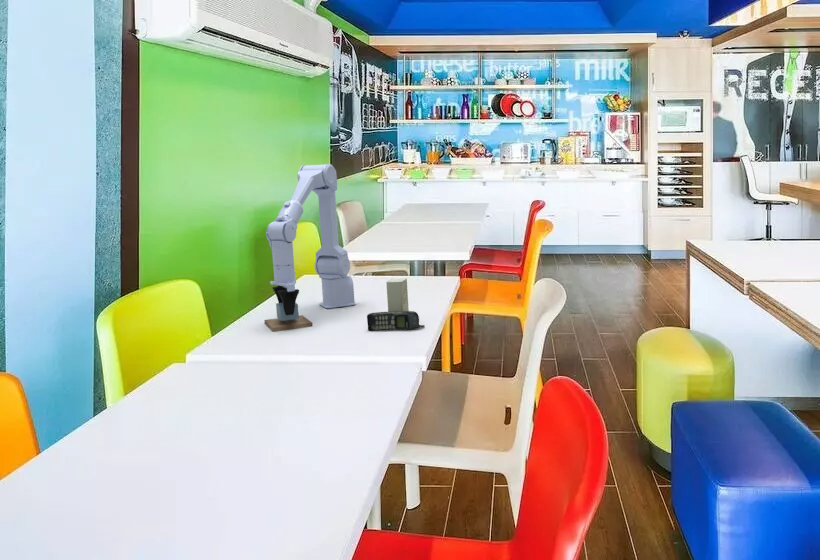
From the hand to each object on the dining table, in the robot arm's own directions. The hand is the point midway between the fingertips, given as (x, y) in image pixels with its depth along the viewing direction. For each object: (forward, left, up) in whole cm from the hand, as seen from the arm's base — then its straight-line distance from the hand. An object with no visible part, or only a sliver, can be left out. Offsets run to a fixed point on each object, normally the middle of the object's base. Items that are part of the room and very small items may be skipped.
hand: (287, 312), depth 206 cm
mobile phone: (-24, +22, -4) cm, 33 cm away
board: (0, 0, -3) cm, 3 cm away
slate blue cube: (0, 0, -1) cm, 1 cm away
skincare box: (-27, +16, -4) cm, 32 cm away
